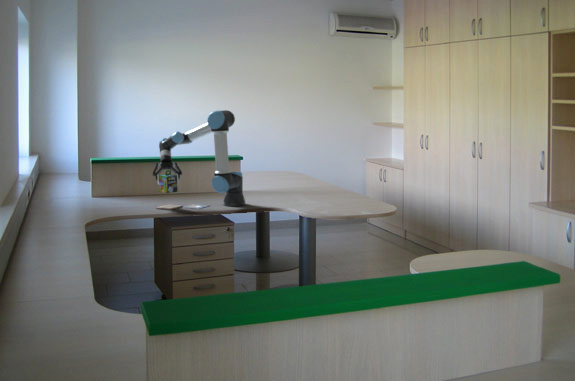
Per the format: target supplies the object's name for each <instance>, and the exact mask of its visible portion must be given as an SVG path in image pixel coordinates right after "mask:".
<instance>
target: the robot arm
mask: <svg viewBox="0 0 575 381" xmlns="http://www.w3.org/2000/svg"><path fill="white" fill-rule="evenodd" d="M206 120H207V121H206V123H204V124H202V125H200V126H197V127H195V128H192V129H190V130H188V131H186V132H184V133H182V132H180V131H175V132H173V133H172V135H170V136H169V137H167V138H166V137H163V138H161V139H160V140H159V143H158V147H159V156H160V163H158V162H156V164H155V166H154V169H153V172H152V176H153V177H155V181H157V185H158V186H159V175H161V173H162V171H164V170H166V171H167V170H171V172H173V173H174V175H177V185H179V181H180V179H181V177H180V176H182V175H183V171H182V169H180V167H179V166H178V163H177V162H174V163H173V161H172V149H174V148H175V147H176V146H179V145H189V144H192V143H193V142H194V141H196V140H199V139H201V138H203V137H205V136H208V135H211V134H213V143H214V144H213V145H214V157H215V158H214V160H215V171H214V172H213V175H214V176H213V178H212V179H211V187H212V189H213V190H214V191H215V192H216V193H219V194H225V195H224V198H223V206H226V207H242V206H246V199H245V196H244V191H243V188H244V187H243V182H244V181H243V180H244V179H243V178H244V177H243V173H242V172H241V171H232V170H230V167H229V166H230V163H229V149H228V148H229V146H228V133H229V131H230V130H229V129H230V128H231V127H232V126H233V125H234V124H235V121H236V117H235V114H234V113H233V112H232V111H230V110H227V109H225V110H215V111H212V112H210V113H209V115H208V116H207V118H206Z"/></svg>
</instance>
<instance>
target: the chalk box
mask: <svg viewBox="0 0 575 381" xmlns="http://www.w3.org/2000/svg"><path fill="white" fill-rule="evenodd" d="M168 172H169V173H168ZM158 192H159V193H163V194H170V193H171V194H172V193H178V184H177V175H176V174H172V170H170V169H169V170H168V169H166V171H165V174H159V185H158Z"/></svg>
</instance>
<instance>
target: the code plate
mask: <svg viewBox="0 0 575 381" xmlns="http://www.w3.org/2000/svg"><path fill="white" fill-rule="evenodd" d="M210 206H211V205H210V204H209V205H207V204H197V203H196V204H195V203H192V204H188V205H183V207H181V208H180V209H188V208H190V209H191V210H201V209H204V208H208V207H210ZM190 209H189V210H190Z"/></svg>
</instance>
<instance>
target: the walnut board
mask: <svg viewBox="0 0 575 381" xmlns="http://www.w3.org/2000/svg"><path fill="white" fill-rule="evenodd" d="M181 207H184V205H183V204H182V205H181V204H180V205H179V204H170V203H169V204H164V205H160V206H155V209H156V210H164V211H168V210H169V211H174V210H178V209H182V208H181Z"/></svg>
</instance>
